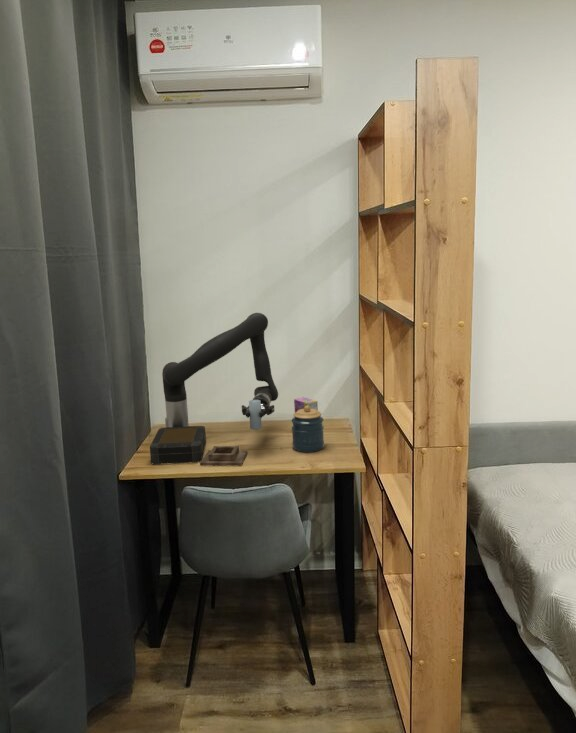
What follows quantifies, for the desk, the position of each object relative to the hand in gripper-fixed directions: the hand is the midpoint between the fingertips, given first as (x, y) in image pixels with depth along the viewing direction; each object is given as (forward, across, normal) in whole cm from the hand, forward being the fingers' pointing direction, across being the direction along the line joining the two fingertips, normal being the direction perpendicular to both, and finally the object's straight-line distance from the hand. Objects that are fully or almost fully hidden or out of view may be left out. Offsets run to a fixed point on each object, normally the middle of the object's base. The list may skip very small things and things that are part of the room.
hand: (254, 415), depth 238 cm
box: (-41, +17, +17) cm, 47 cm away
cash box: (-3, -32, +17) cm, 37 cm away
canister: (-10, +20, +17) cm, 28 cm away
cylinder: (-3, 0, +6) cm, 7 cm away
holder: (+4, -12, +17) cm, 21 cm away
